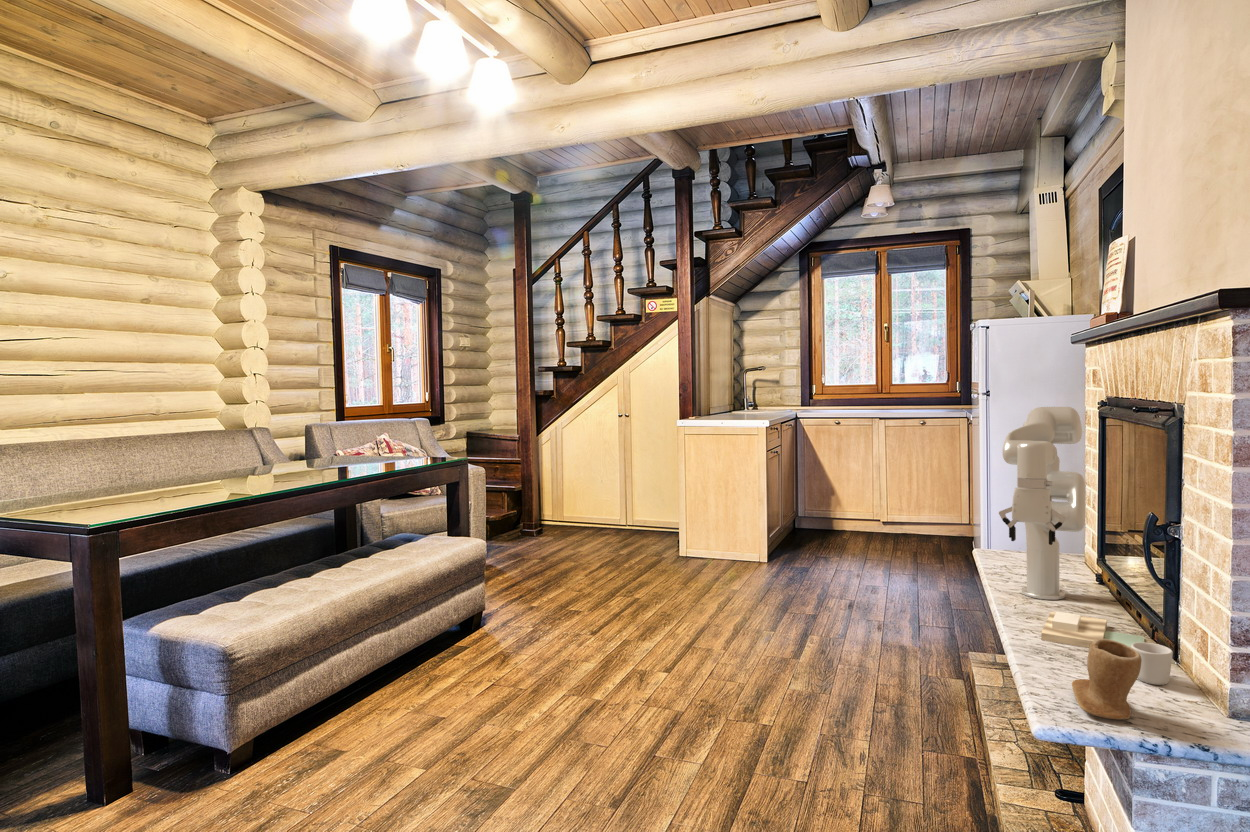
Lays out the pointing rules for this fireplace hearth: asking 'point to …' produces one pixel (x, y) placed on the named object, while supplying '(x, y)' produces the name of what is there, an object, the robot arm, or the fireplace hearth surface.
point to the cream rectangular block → (1066, 621)
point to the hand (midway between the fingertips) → (1031, 542)
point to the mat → (1123, 638)
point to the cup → (1154, 662)
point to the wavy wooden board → (1083, 637)
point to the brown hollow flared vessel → (1108, 679)
